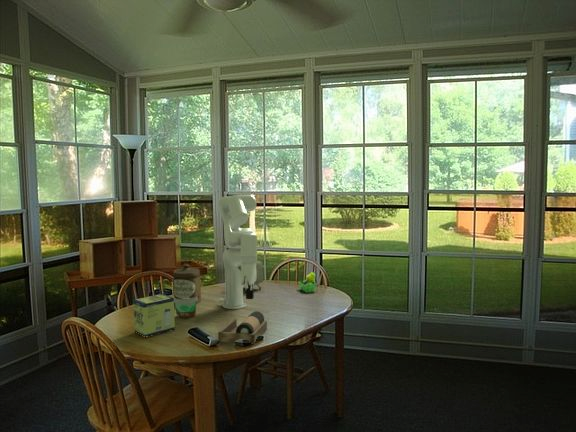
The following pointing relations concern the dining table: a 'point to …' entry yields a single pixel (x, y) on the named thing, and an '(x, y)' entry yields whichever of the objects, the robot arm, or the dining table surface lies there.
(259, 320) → the travel mug
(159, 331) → the protein box
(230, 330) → the tray
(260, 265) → the tabletop clock
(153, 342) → the dining table surface
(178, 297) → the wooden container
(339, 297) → the dining table surface
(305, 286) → the fruit basket
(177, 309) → the food container
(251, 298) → the robot arm
